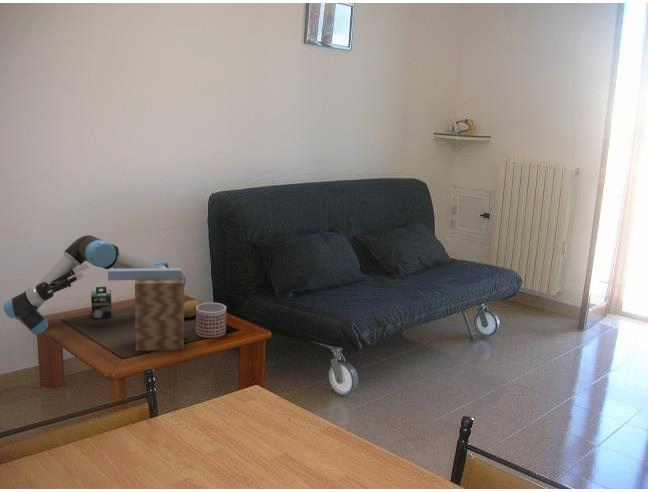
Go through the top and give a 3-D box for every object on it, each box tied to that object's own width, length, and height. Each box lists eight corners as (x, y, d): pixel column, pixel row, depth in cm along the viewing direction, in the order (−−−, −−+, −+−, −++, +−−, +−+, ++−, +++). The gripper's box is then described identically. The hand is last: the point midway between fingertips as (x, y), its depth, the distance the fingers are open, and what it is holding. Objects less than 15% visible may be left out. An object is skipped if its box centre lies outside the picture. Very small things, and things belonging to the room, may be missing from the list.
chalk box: (111, 311, 321) (111, 283, 318) (111, 317, 312) (111, 288, 309) (92, 312, 318) (91, 283, 315) (91, 318, 310) (90, 289, 306)
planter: (191, 330, 303) (192, 304, 300) (219, 326, 309) (220, 301, 306) (201, 340, 291) (201, 313, 288) (230, 336, 298) (230, 310, 295)
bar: (108, 280, 271) (107, 271, 270) (109, 277, 274) (108, 268, 274) (181, 279, 277) (181, 270, 277) (181, 276, 281) (181, 267, 280)
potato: (206, 315, 323) (206, 300, 321) (185, 322, 312) (185, 306, 310) (193, 310, 328) (193, 295, 327) (171, 317, 317) (171, 302, 315)
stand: (135, 350, 275) (134, 283, 268) (137, 338, 289) (136, 274, 282) (183, 349, 280) (184, 282, 273) (183, 337, 293) (183, 273, 286)
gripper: (28, 295, 260) (76, 269, 261) (41, 277, 283) (84, 254, 285) (39, 310, 262) (86, 284, 264) (50, 291, 286) (94, 268, 287)
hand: (85, 269), depth 274 cm, fingers open, 13 cm apart
